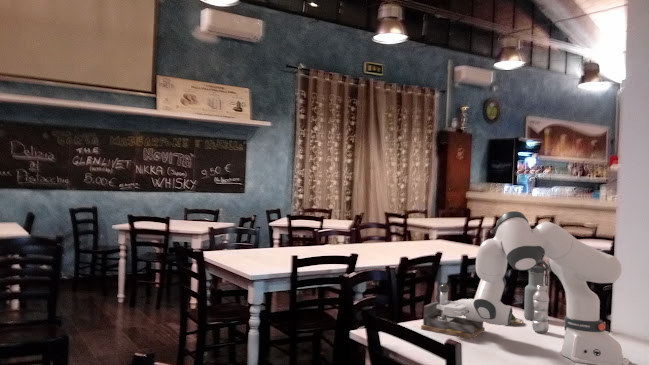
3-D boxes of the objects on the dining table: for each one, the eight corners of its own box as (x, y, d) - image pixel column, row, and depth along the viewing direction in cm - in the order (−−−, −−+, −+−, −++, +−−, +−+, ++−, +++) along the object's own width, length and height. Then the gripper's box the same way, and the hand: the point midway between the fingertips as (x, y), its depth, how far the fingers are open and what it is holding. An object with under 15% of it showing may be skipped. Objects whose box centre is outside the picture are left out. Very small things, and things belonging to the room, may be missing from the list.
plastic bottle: (540, 334, 228) (542, 287, 228) (528, 330, 235) (529, 284, 235) (552, 333, 231) (553, 286, 231) (539, 329, 237) (541, 283, 237)
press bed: (484, 330, 232) (485, 308, 232) (470, 338, 219) (471, 315, 219) (436, 322, 245) (437, 301, 245) (421, 329, 232) (421, 306, 232)
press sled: (454, 324, 235) (455, 284, 236) (447, 327, 229) (448, 286, 229) (439, 321, 240) (440, 282, 240) (431, 324, 233) (433, 284, 234)
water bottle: (545, 317, 260) (546, 259, 260) (548, 322, 250) (550, 261, 250) (522, 315, 262) (524, 258, 262) (525, 320, 252) (527, 260, 253)
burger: (505, 327, 240) (505, 310, 240) (491, 320, 252) (491, 304, 252) (529, 326, 243) (529, 309, 243) (514, 320, 254) (514, 304, 254)
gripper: (462, 321, 218) (431, 316, 227) (480, 313, 235) (450, 308, 243) (463, 306, 218) (431, 301, 227) (481, 298, 235) (451, 294, 243)
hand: (441, 304), depth 235 cm, fingers open, 8 cm apart
